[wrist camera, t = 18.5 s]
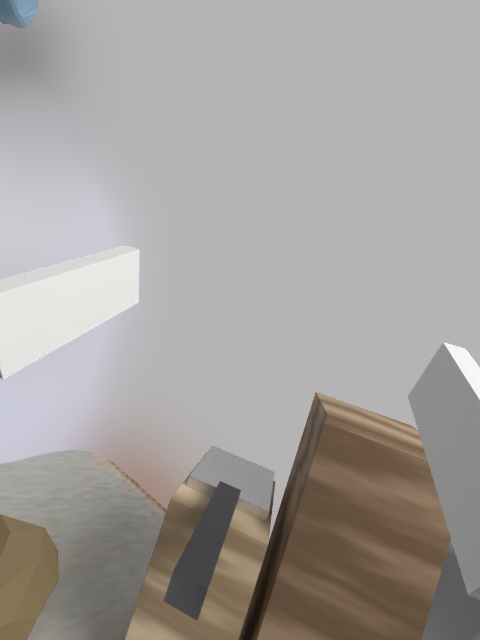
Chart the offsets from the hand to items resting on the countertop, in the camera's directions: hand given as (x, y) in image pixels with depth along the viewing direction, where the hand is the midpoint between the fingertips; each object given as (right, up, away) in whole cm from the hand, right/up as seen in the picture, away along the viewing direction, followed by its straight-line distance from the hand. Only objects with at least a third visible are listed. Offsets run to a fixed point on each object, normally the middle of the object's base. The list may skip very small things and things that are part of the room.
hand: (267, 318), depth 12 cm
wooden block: (+3, -44, +17) cm, 47 cm away
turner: (-3, -19, +16) cm, 25 cm away
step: (-9, -41, +20) cm, 46 cm away
